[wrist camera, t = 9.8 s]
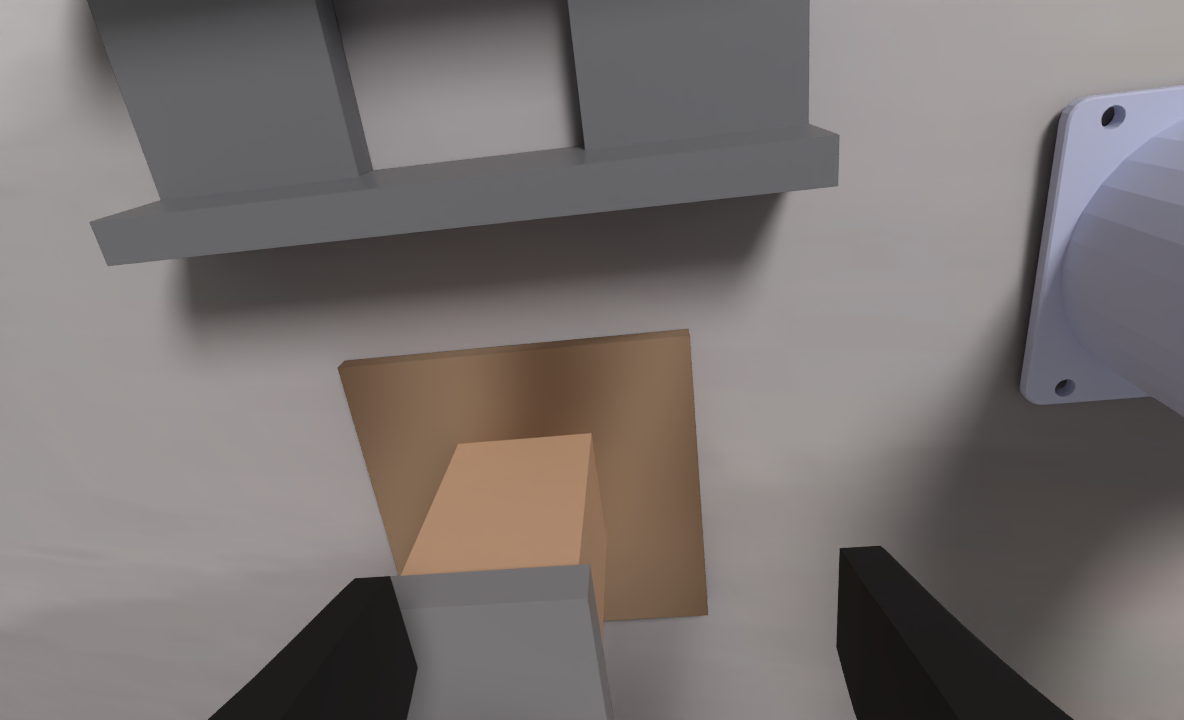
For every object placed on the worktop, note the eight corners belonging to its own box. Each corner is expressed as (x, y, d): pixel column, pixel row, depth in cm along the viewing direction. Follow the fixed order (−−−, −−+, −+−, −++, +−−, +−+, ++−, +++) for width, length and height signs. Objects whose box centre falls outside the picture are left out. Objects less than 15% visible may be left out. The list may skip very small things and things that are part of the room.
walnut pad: (688, 328, 19) (689, 335, 18) (706, 604, 23) (708, 615, 22) (344, 360, 20) (337, 368, 19) (419, 620, 24) (415, 630, 23)
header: (799, -218, 14) (850, -299, 11) (798, 162, 17) (838, 186, 14) (80, -101, 15) (-62, -142, 12) (197, 230, 18) (107, 266, 15)
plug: (600, 423, 20) (587, 598, 13) (616, 550, 22) (613, 756, 15) (446, 436, 20) (362, 611, 14) (475, 559, 22) (413, 764, 16)
